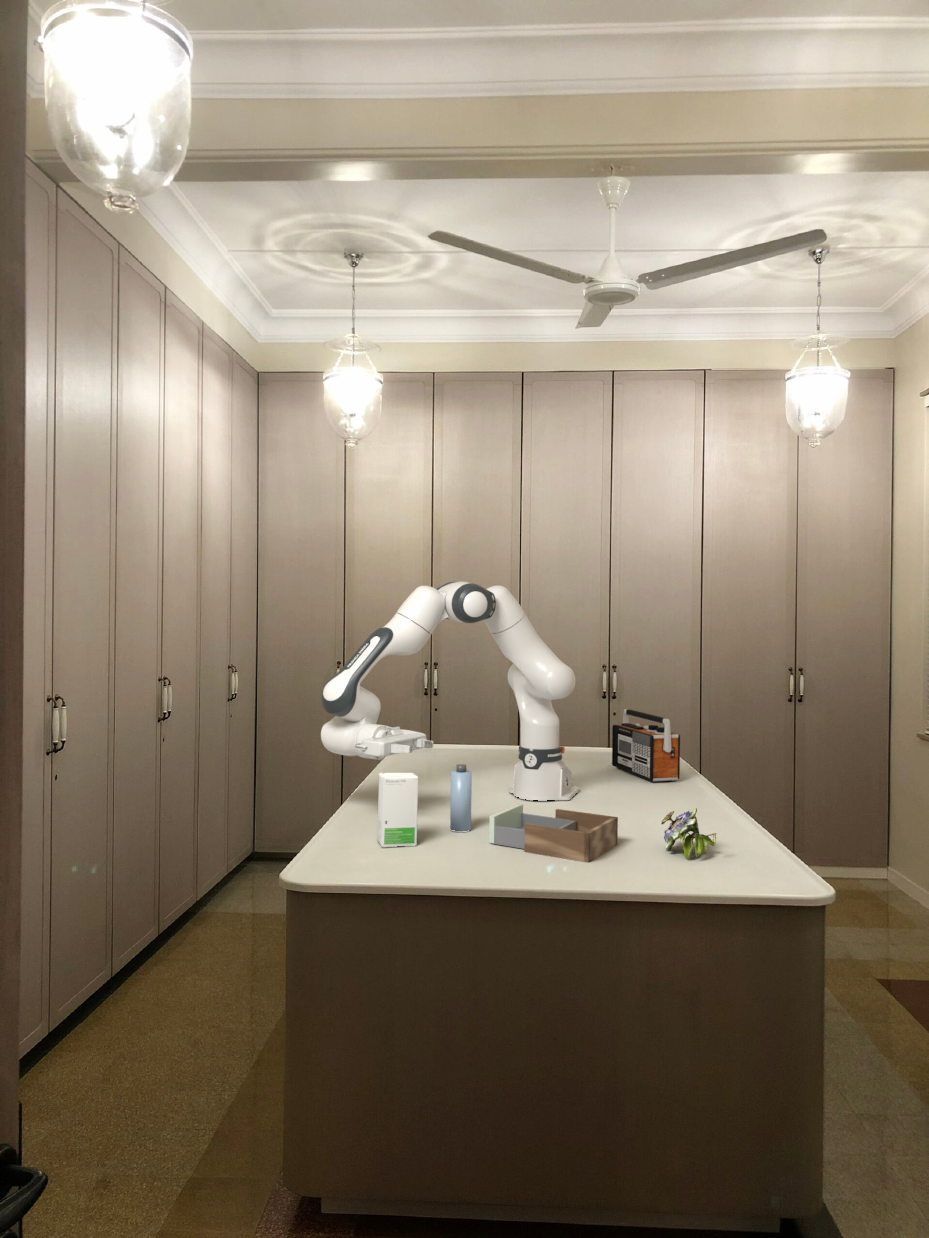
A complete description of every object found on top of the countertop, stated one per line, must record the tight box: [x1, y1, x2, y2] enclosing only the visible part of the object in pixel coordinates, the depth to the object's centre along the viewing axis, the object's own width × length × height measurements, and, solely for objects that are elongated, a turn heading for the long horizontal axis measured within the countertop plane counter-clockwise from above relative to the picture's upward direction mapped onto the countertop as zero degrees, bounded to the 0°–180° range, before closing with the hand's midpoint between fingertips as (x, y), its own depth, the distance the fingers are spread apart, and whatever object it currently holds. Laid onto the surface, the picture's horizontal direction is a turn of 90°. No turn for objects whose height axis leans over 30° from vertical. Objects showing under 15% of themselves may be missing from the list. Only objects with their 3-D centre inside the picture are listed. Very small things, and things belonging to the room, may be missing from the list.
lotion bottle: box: [449, 763, 473, 831], centre depth 206 cm, size 5×5×16 cm
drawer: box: [488, 803, 576, 850], centre depth 196 cm, size 15×15×6 cm
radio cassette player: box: [611, 708, 681, 783], centre depth 278 cm, size 29×10×20 cm, turn 16°
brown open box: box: [523, 808, 619, 863], centre depth 192 cm, size 17×15×6 cm
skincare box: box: [376, 772, 419, 848], centre depth 194 cm, size 8×7×16 cm
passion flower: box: [661, 807, 717, 861], centre depth 188 cm, size 11×11×12 cm
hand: (421, 746), depth 211 cm, fingers open, 8 cm apart
